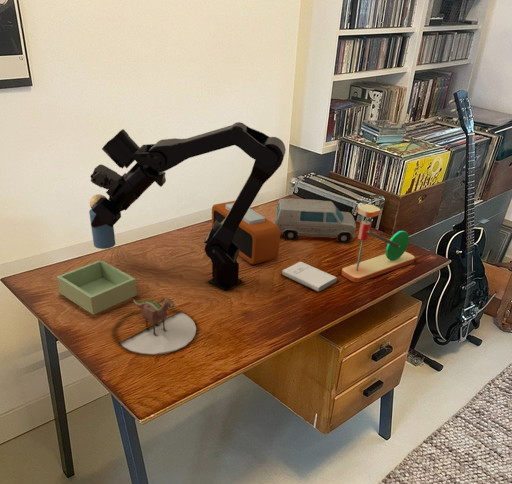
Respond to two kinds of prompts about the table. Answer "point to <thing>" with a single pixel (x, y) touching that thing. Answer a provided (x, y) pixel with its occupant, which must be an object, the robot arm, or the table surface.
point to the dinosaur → (161, 330)
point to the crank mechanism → (384, 262)
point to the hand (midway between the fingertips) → (96, 221)
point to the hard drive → (309, 276)
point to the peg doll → (101, 229)
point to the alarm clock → (252, 234)
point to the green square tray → (97, 286)
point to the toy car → (313, 220)
